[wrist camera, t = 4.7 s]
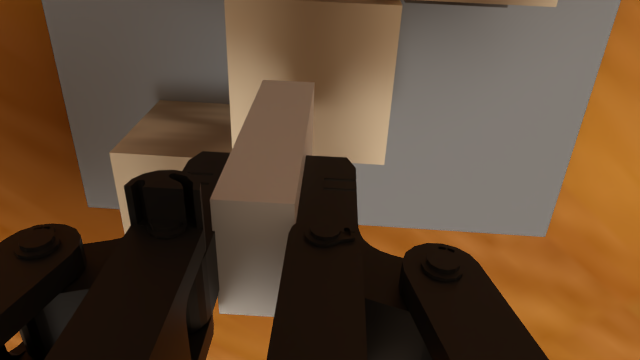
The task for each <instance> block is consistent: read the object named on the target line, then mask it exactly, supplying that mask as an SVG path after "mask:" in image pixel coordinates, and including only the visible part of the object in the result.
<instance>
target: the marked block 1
mask: <svg viewBox="0 0 640 360" xmlns="http://www.w3.org/2000/svg"><path fill="white" fill-rule="evenodd" d="M202 151H209V152H227V153H231V151H232V136H231V118H230V104H219V103H202V102H184V101H167V100H159V101H158V102H157V103H156V105H155V106H154V107H153V108H152V109H151V110H150V111H149V112H148V113H147V114H146V115H145V116H144V117H143V118H142V119H141V120H140V121H139V122H138V123H137V124H136V125H135V126H134V127H133V128H132V129H131V131H130V132H129V133H128V134H127V135H126V136H125V137H124V138H123V139H122V140H121V141H120V142H119V143H118V144H117V145H116V146H115V147H114V148H113V149H112V150H111V151H110V152H109V154H110V159H111V164H112V170H113V175H114V180H115V186H116V191H117V196H118V201H119V207H120V212H121V217H122V223H123V228H124V233H126V232H127V230H128V229H129V227H130V226H131V224H130V218H129V213H128V207H127V202H126V196H125V191H124V185H125V184H126V183H128V182H129V181H130V180H131V179H133V178H135V177H137V176H139V175H142V174H144V173H148V172H153V171H157V170H178V171H182V170H183V169H184V167H185V165H186V164H187V162H188V160H190V159H191V158H193V157H194V156H196V155H197V154H199V153H201V152H202Z"/></svg>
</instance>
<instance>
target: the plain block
mask: <svg viewBox="0 0 640 360" xmlns="http://www.w3.org/2000/svg"><path fill="white" fill-rule="evenodd" d="M224 7H225V25H226V44H227V62H228V81H229V99H230V118H231V136H232V148H233V146H234V144H235V142H236V139H237V137H238V135H239V133H240V130H241V128H242V126H243V124H244V121H245V119H246V117H247V115H248V112H249V110H250V108H251V106H252V103H253V101H254V99H255V97H256V94H257V92H258V90H259V88H260V85H261V83H262V81H263V80H277V81H297V82H315V84H314V113H313V143H312V156H330V157H347V158H348V159H349V160H350V162H351V163H360V164H376V165H384V163H385V154H386V145H387V137H388V128H389V119H390V111H391V102H392V93H393V84H394V76H395V67H396V58H397V49H398V41H399V32H400V23H401V15H402V4H401V1H400V0H224Z"/></svg>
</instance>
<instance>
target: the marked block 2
mask: <svg viewBox="0 0 640 360" xmlns="http://www.w3.org/2000/svg"><path fill="white" fill-rule="evenodd" d="M404 2H405V3H422V4H442V5H462V6H481V7H501V8H508V5H523V6H543V7H556V6H557V2H558V0H404Z"/></svg>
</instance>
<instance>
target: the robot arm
mask: <svg viewBox="0 0 640 360" xmlns="http://www.w3.org/2000/svg"><path fill="white" fill-rule="evenodd" d="M314 84H315V82H297V81H277V80H263V81H262V83H261V85H260V88H259V90H258V92H257V94H256V97H255V99H254V101H253V103H252V106H251V108H250V110H249V112H248V115H247V117H246V119H245V121H244V124H243V126H242V128H241V130H240V133H239V135H238V137H237V139H236V142H235V144H234V146H233V148H232V151H231V153H227V152H209V151H202V152H201V153H199V154H197V155H196V156H194V157H193V158H191V159H190V160H188V162H187V164H186V165H185V167H184V169H183V170H182V171H178V170H157V171H153V172H148V173H144V174H142V175H139V176H137V177H135V178H133V179H131V180H130V181H129V182H128V183H126V184H125V185H124V191H125V196H126V202H127V207H128V213H129V218H130V224H131V226H130V227H129V229H128V230H127V232H126V233H125V235H124V237H123V238H119V239H114V240H109V241H102V242H95V243H88V244H83V243H82V239H81V235H80V234H79V233H78V231H77V230H76V229H75V228H72V227H70V226H68V225H63V224H44V225H36V226H33V227H30V228H27V229H24V230H21V231H19V232H17V233H15V234H13V235H11V236H10V237H8V238H6V239H5V240H3V241H2V242H0V360H206V357H207V354H208V350H209V347H210V344H211V340H212V337H213V330H214V323H213V309H214V306H215V303H216V299H217V296H218V303H219V313H220V314H237V315H253V316H270V317H274V320H273V326H272V332H271V338H270V343H269V349H268V355H267V360H549V359H548V358H547V356H546V355H545V354H544V352H543V351H542V350H541V348H540V347H539V345H538V344H537V343H536V341H535V340H534V339H533V337H532V336H531V334H530V333H529V332H528V330H527V329H526V328H525V326H524V325H523V323H522V322H521V321H520V319H519V318H518V317H517V315H516V314H515V312H514V311H513V310H512V308H511V307H510V306H509V304H508V303H507V301H506V300H505V299H504V297H503V296H502V295H501V293H500V292H499V290H498V289H497V288H496V286H495V285H494V284H493V282H492V281H491V279H490V278H489V277H488V275H487V274H486V273H485V271H484V270H483V268H482V267H481V266H480V264H479V263H478V262H477V261H476V260H475V259H474V258H473V257H472V256H471V255H470V254H468V253H466V252H464V251H462V250H460V249H458V248H456V247H453V246H449V245H445V244H437V243H426V244H422V245H418V246H414V247H413V248H411V249H410V250H409V251H407V252H406V253H405V256H404V258H401V257H397V256H394V255H390V254H387V253H384V252H382V251H379V250H377V249H376V248H374V247H372V246H370V245H369V244H368V243H367V242H366V241H365V240H364V239H363V238H362V236H361V234H360V231H359V228H358V209H357V184H356V168H355V166H354V165H353V164H352V163H351V162H350V160H349V159H348V158H347V157H330V156H312V143H313V113H314ZM18 331H20V334H21V337H22V340H23V342H22V343H21V344H20V345H19V346H17V347H16V348H14V349H13V350H11V351H10V352H8V351H7V350H6V347H5V345H4V344H5V343H6V342H7V341H9V340H10V339H11V338H12V337H13V336H14V335H15V334H16V333H17V332H18Z"/></svg>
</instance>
